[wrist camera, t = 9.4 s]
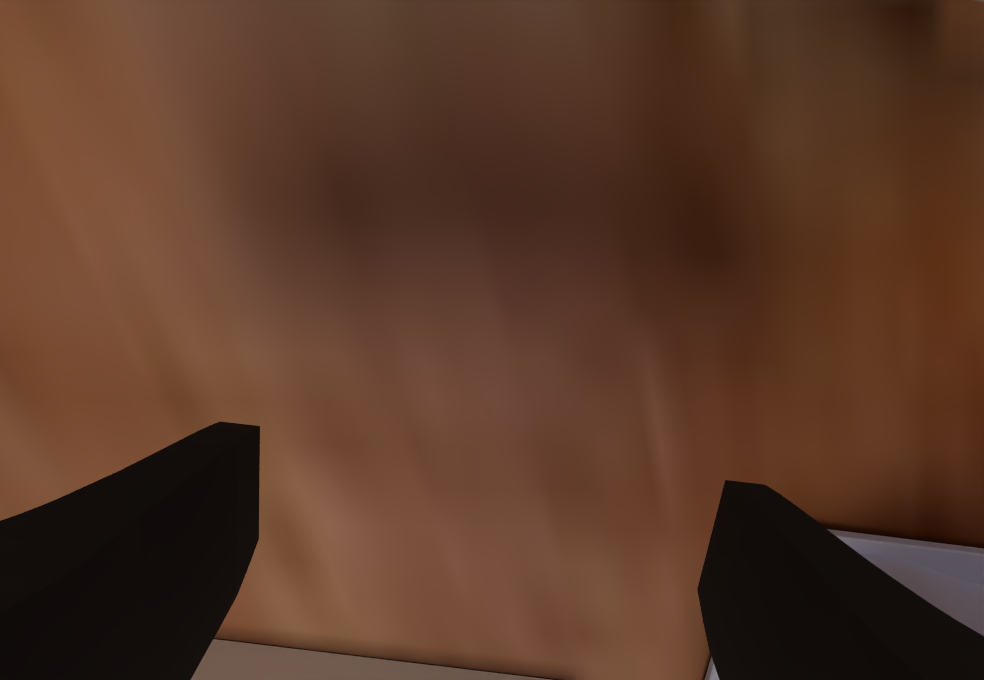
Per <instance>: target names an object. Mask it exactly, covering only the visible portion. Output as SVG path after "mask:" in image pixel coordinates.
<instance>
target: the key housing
mask: <svg viewBox="0 0 984 680" xmlns="http://www.w3.org/2000/svg"><path fill="white" fill-rule="evenodd" d="M191 680H551V679H543V678H534V677H526V676H518V675H509V674H501V673H493V672H484V671H476V670H468V669H459V668H451V667H443V666H434V665H426V664H417V663H409V662H401V661H392V660H384V659H376V658H367V657H359V656H351V655H342V654H334V653H326V652H317V651H309V650H300V649H292V648H284V647H275V646H267V645H259V644H250V643H242V642H234V641H225V640H217V639H213V641H212V642H211V644H210V646H209V648H208V650H207V651H206V653H205V655H204V657H203V659H202V660H201V662H200V664H199V666H198V667H197V669H196V671H195V673H194V675H193V676H192V678H191Z"/></svg>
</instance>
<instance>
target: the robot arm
mask: <svg viewBox="0 0 984 680" xmlns="http://www.w3.org/2000/svg"><path fill="white" fill-rule="evenodd" d="M259 456H260V426H254V425H245V424H236V423H228V422H218V423H215V424H213V425H210V426H208V427H206V428H204V429H202V430H200V431H197V432H195V433H193V434H191V435H189V436H187V437H185V438H184V439H182V440H180V441H178V442H176V443H174V444H172V445H170V446H168V447H166V448H164V449H162V450H160V451H158V452H156V453H154V454H152V455H150V456H148V457H146V458H144V459H142V460H140V461H138V462H136V463H134V464H132V465H130V466H128V467H126V468H124V469H122V470H120V471H118V472H116V473H114V474H112V475H110V476H107V477H105V478H103V479H101V480H98V481H96V482H94V483H92V484H90V485H87V486H85V487H83V488H81V489H79V490H76V491H74V492H72V493H70V494H68V495H65V496H63V497H61V498H59V499H56V500H54V501H52V502H49V503H47V504H44V505H42V506H39V507H37V508H34V509H32V510H29V511H26V512H24V513H21V514H19V515H16V516H13V517H10V518H7V519H5V520H2V521H0V680H191V678H192V676H193V675H194V673H195V671H196V669H197V667H198V666H199V664H200V662H201V660H202V659H203V657H204V655H205V653H206V651H207V650H208V648H209V646H210V644H211V642H212V641H213V639H214V637H215V635H216V633H217V631H218V630H219V628H220V626H221V624H222V622H223V620H224V619H225V617H226V615H227V613H228V611H229V609H230V608H231V606H232V604H233V602H234V600H235V598H236V596H237V594H238V592H239V589H240V587H241V584H242V582H243V579H244V577H245V574H246V572H247V569H248V566H249V564H250V561H251V558H252V556H253V553H254V550H255V548H256V545H257V542H258V539H259ZM698 595H699V600H700V606H701V611H702V617H703V622H704V627H705V632H706V637H707V641H708V646H709V650H710V653H711V660H710V663H709V667H708V670H707V674H706V677H705V680H984V548H976V547H968V546H960V545H952V544H944V543H935V542H927V541H919V540H911V539H903V538H895V537H887V536H879V535H871V534H863V533H854V532H846V531H838V530H830V529H826V528H825V527H823V526H822V525H821V524H819V523H818V522H817V521H815V520H814V519H813V518H812V517H810V516H809V515H808V514H806V513H805V512H804V511H802V510H801V509H800V508H798V507H797V506H796V505H794V504H793V503H792V502H790V501H789V500H787V499H786V498H785V497H783V496H782V495H780V494H779V493H777V492H776V491H774V490H773V489H771V488H769V487H768V486H766V485H763V484H754V483H745V482H737V481H728V480H725V484H724V488H723V491H722V495H721V499H720V503H719V507H718V511H717V515H716V519H715V523H714V527H713V530H712V534H711V538H710V542H709V546H708V550H707V554H706V558H705V562H704V566H703V570H702V573H701V577H700V581H699V585H698Z"/></svg>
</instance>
